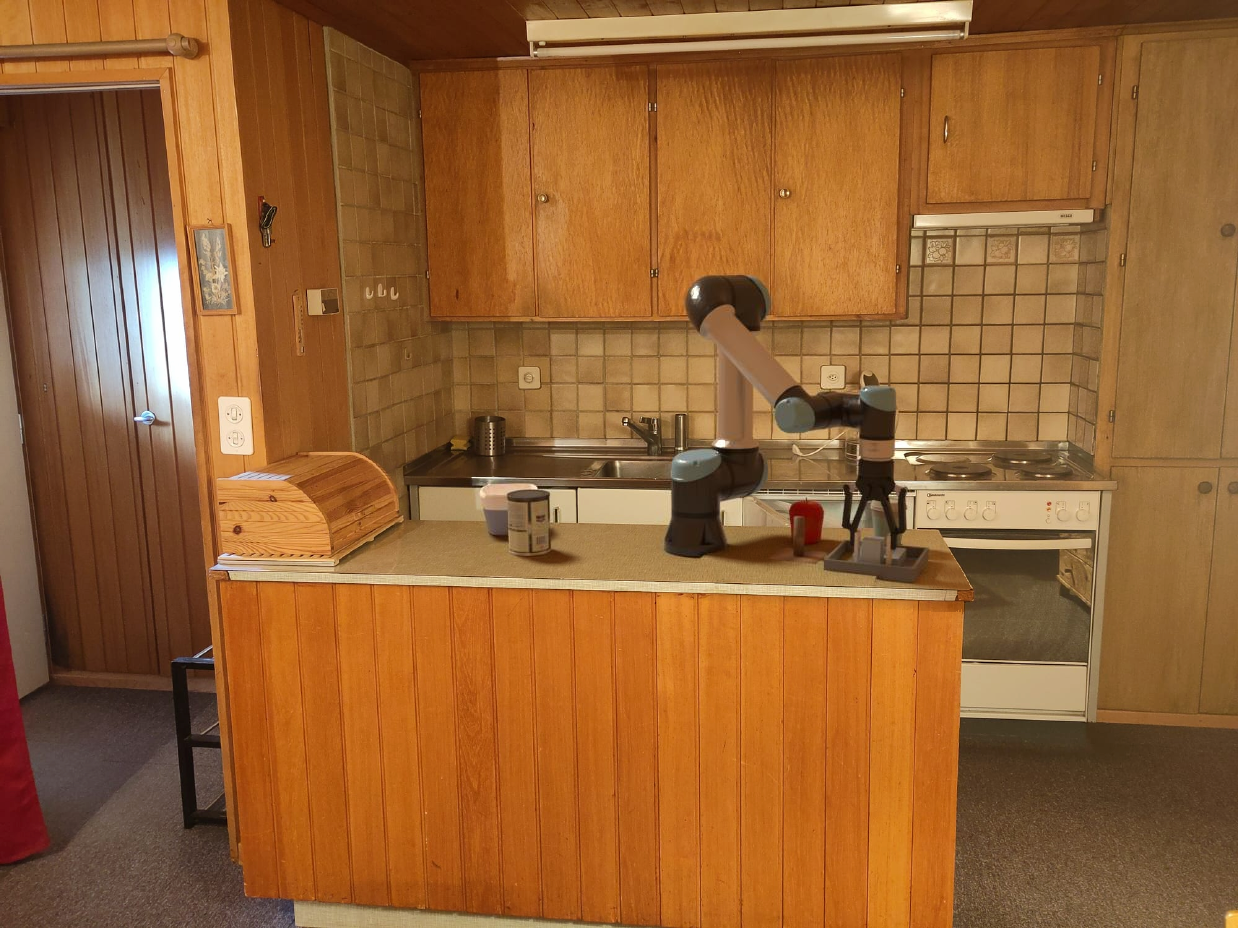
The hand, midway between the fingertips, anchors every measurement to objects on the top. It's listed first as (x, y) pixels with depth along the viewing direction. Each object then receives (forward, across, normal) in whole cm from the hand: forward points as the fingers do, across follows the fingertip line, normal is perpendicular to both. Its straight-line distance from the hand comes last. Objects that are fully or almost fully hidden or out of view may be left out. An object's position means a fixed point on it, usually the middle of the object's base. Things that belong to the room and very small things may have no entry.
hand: (872, 561), depth 228 cm
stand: (+2, -18, +5) cm, 19 cm away
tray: (+2, 0, +5) cm, 6 cm away
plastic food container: (+3, -94, +3) cm, 94 cm away
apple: (+3, -20, +19) cm, 28 cm away
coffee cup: (+3, -1, +22) cm, 22 cm away
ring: (+2, 0, +5) cm, 5 cm away
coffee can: (+3, -79, -13) cm, 80 cm away
